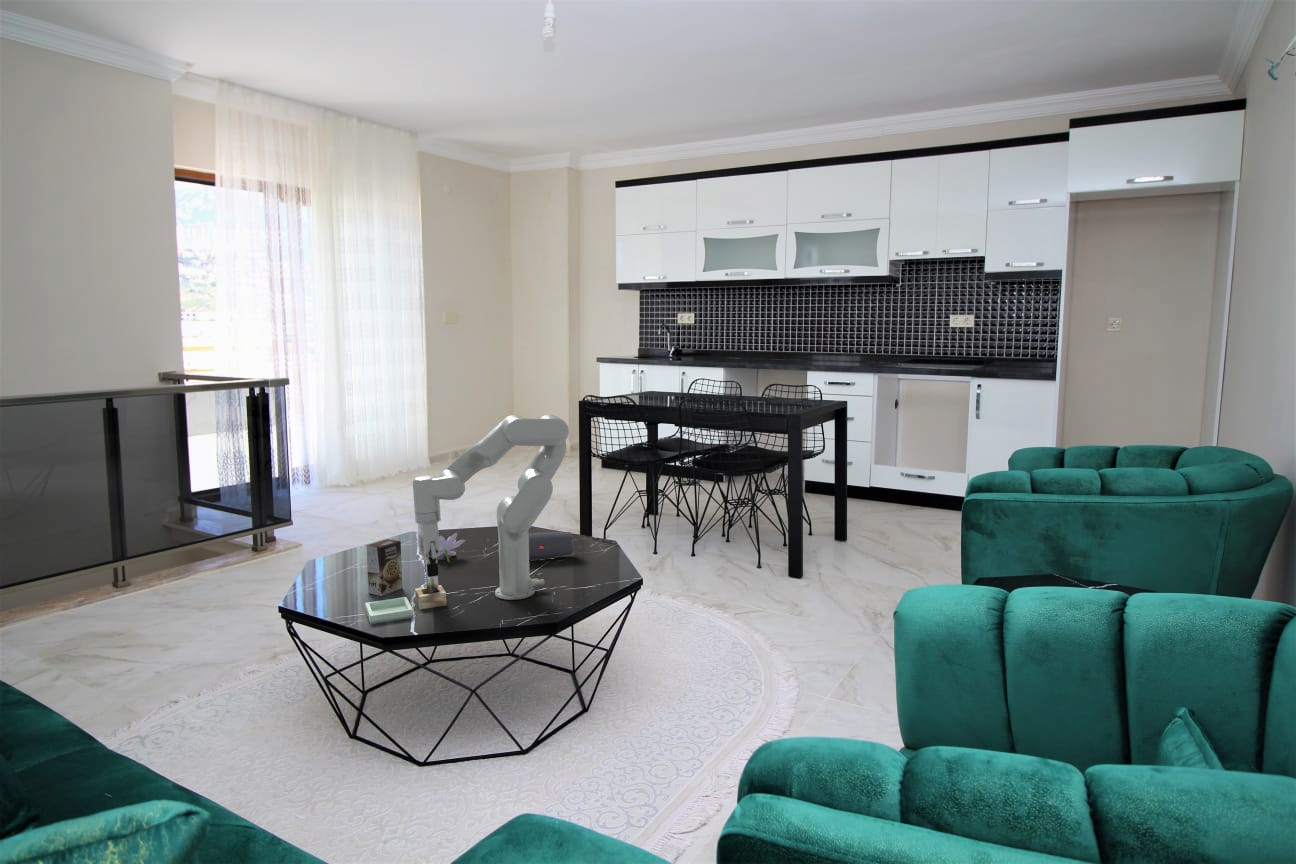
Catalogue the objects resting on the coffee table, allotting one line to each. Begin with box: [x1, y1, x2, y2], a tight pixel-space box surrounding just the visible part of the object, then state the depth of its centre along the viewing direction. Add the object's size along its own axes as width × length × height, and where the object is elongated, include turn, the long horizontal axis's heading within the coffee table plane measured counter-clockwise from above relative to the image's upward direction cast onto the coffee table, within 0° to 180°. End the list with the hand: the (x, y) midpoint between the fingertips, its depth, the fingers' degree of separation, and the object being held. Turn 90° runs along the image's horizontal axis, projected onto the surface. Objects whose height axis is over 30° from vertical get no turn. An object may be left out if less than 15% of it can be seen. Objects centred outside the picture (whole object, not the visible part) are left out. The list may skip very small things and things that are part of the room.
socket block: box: [414, 584, 447, 610], centre depth 245 cm, size 8×8×4 cm
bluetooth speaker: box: [528, 531, 574, 561], centre depth 290 cm, size 23×9×10 cm, turn 104°
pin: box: [424, 555, 439, 594], centre depth 244 cm, size 4×4×12 cm
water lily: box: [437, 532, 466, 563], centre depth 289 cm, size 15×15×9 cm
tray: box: [364, 596, 414, 625], centre depth 236 cm, size 12×12×2 cm
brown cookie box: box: [366, 538, 403, 597], centre depth 255 cm, size 9×6×16 cm
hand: (431, 573), depth 244 cm, fingers closed on pin, 3 cm apart
